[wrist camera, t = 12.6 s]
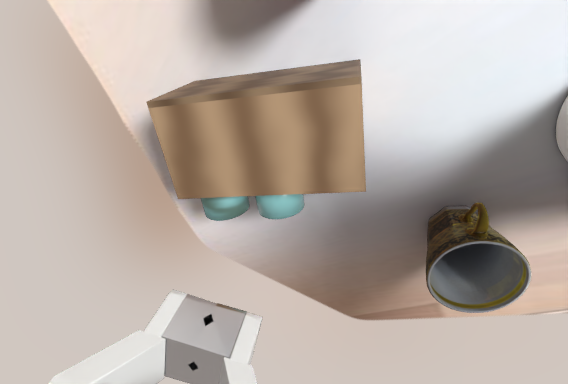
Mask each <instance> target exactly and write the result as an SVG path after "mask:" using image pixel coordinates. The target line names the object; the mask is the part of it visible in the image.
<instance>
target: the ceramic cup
mask: <svg viewBox="0 0 568 384" xmlns="http://www.w3.org/2000/svg"><path fill="white" fill-rule="evenodd" d="M477 209H478V215H477V214H476V213H475V211H476V210H477ZM427 243H428V251H427V258H426V282H427V287H428V289H429V291H430V293H431V294H432V296H433V297H434V298H435V299H436V300H437V301H438V302H440V303H441V304H442V305H444V306H446V307H448V308H450V309H453V310H457V311H461V312H467V313H483V312H489V311H494V310H497V309H500V308H503V307H505V306H507V305H509V304H511V303H513V302H514V301H516V300H517V299H518V298H519V297H520V296H521V295H522V294H523V293H524V292H525V291H526V289H527V287H528V285H529V283H530V280H531V268H530V265H529V262H528V260H527V259H526V258H525V256H524V255H523V254H522V253H521V252H520V251H519V250H518V249H517V248H516V247H515V246H514V245H513V244H511V243H510V242H509V241H508V240H507V239H506V238H504V237H503V236H502V235H500V234H499V233H498V232H496V231H495V230H493V229H492V228H491V227H490V226H489V219H488V214H487V211H486V208H485V206H484V205H483V204H482V203H474V204H473V205H472V207H471V208H469V207H467V206H447V207H445V208H443V209H442V210H441V211H439V212H438V213H437V214H435V215H434V216H433V217H431V218H430V219H429V222H428V235H427Z"/></svg>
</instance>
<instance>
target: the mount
mask: <svg viewBox="0 0 568 384" xmlns="http://www.w3.org/2000/svg"><path fill="white" fill-rule="evenodd" d="M147 105H148V108H149V111H150V114H151V117H152V120H153V124H154V127H155V130H156V133H157V136H158V139H159V142H160V145H161V148H162V151H163V154H164V157H165V160H166V163H167V166H168V169H169V172H170V175H171V178H172V182H173V185H174V188H175V191H176V194H177V197H178V199H189V198H201V201H202V204H203V208H204V211H205V214H206V217H207V218H209V219H211V220H216V221H222V220H229V219H232V218H235V217H238V216H240V215H241V214H243V213H244V212H246V211H247V210H248V208H249V200H248V196H264V195H289V194H314V193H340V192H365V191H366V182H365V157H364V132H363V107H362V83H361V64H360V60H352V61H345V62H337V63H329V64H322V65H314V66H306V67H299V68H291V69H283V70H276V71H268V72H260V73H253V74H245V75H237V76H230V77H222V78H215V79H207V80H199V81H194V82H191V83H189V84H187V85H185V86H182V87H180V88H178V89H175V90H173V91H171V92H168V93H166V94H164V95H161V96H159V97H157V98H154V99H152V100H150V101H147Z"/></svg>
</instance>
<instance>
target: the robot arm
mask: <svg viewBox="0 0 568 384" xmlns="http://www.w3.org/2000/svg"><path fill="white" fill-rule="evenodd" d="M556 139H557V144H558V147H559V149H560V151H561V153H562V155H563V156H564V158H565V159H566V160H567V162H568V96H567V98H566V99H565V101H564V103H563V105H562V107H561V110H560V112H559V115H558V119H557V125H556ZM261 322H262V316H258V315H255V314H251V313H248V312H246V311H243V310H239V309H236V308H232V307H229V306H225V305H222V304H216V303H213V302H210V301H207V300H204V299H201V298H198V297H195V296H192V295H189V294H186V293H182V292H180V291H177V290H172V291H171V292H170V293H169V294H168V295H167V297H166V299H165V300H164V301H163V303H162V304H161V306H160V307H159V309H158V310H157V312H156V313H155V315H154V316H153V318H152V319H151V321H150V322H149V324H148V325H147V327H146V328H145V330H144V331H140V330H138V331H136V332H135V333H133V334H131V335H129V336H127V337H125V338H123V339H122V340H120V341H118V342H116V343H114V344H112V345H111V346H109V347H107V348H105V349H103V350H101V351H99V352H98V353H96V354H94V355H92V356H90V357H88V358H87V359H85V360H83V361H81V362H79V363H78V364H76V365H74V366H72V367H70V368H68V369H66V370H65V371H63V372H61V373H59V374H57V375H55V376H54V377H53V379H52V380H51V381H50V382H49V383H48V384H157V383H159V382H160V381H161V380H163V379H164V376H166V377H170V378H173V379H176V380H180V381H183V382H187V383H190V384H257V381H256V377H255V373H254V370H253V366H251V365H250V363H251V359H252V356H253V352H254V348H255V345H256V341H257V337H258V333H259V329H260V325H261Z"/></svg>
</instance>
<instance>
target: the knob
mask: <svg viewBox="0 0 568 384" xmlns="http://www.w3.org/2000/svg"><path fill="white" fill-rule="evenodd" d="M256 201H257V206H258V211H259V214H260V215H261V216H263V217H265V218H268V219H283V218H288V217H291V216H294V215H296V214H297V213H299V212H300V211H301V210H302V209H303V208H304V198H303V194H289V195H264V196H256Z"/></svg>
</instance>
